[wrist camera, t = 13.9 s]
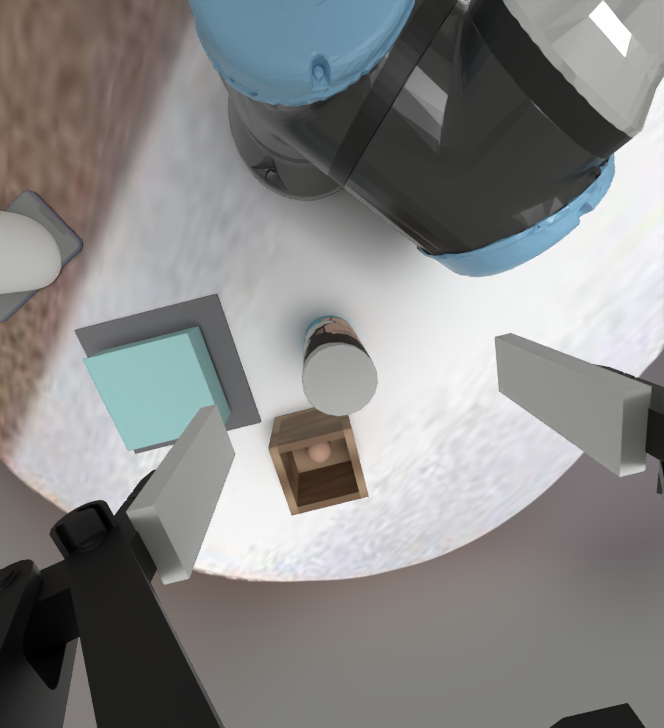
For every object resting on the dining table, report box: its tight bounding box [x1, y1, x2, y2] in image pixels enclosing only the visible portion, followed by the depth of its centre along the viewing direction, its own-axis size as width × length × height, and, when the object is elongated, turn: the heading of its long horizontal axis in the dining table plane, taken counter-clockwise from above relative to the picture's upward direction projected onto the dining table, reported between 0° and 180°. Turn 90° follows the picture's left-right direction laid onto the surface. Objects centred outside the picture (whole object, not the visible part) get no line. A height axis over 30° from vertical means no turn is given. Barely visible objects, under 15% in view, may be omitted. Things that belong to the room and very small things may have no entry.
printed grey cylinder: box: [302, 316, 378, 416], centre depth 37 cm, size 7×7×15 cm
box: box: [269, 408, 369, 515], centre depth 45 cm, size 10×10×8 cm
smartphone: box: [0, 191, 83, 322], centre depth 39 cm, size 8×1×15 cm
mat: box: [74, 294, 261, 454], centre depth 44 cm, size 18×18×1 cm
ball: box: [307, 441, 332, 463], centre depth 46 cm, size 3×3×3 cm
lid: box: [83, 326, 231, 451], centre depth 41 cm, size 12×12×5 cm
